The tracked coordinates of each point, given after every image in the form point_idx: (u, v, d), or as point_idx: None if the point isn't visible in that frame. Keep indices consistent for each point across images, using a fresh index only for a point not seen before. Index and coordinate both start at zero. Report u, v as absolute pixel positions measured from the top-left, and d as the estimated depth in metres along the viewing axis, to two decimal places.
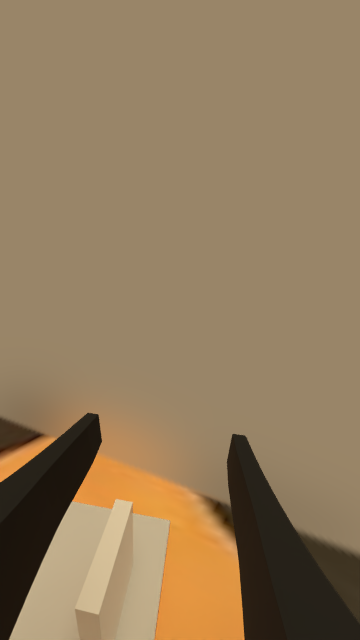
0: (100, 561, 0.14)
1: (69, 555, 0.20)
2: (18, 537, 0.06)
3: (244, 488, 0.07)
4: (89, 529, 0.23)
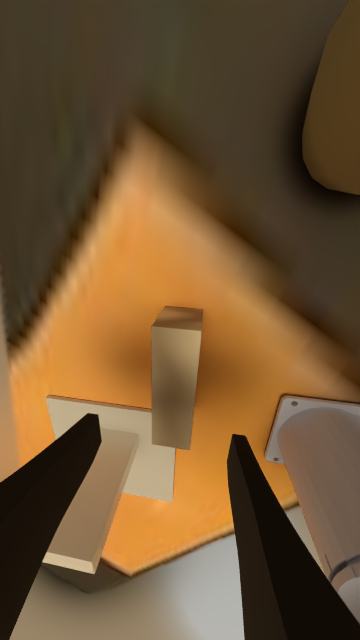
0: (63, 562, 0.13)
1: None
2: (18, 537, 0.06)
3: (244, 488, 0.07)
4: None
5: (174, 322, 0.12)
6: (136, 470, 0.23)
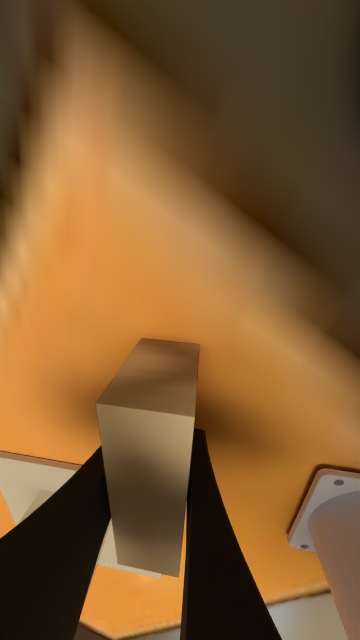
0: None
1: None
2: (78, 550, 0.06)
3: (190, 479, 0.08)
4: None
5: (144, 388, 0.07)
6: (113, 543, 0.17)
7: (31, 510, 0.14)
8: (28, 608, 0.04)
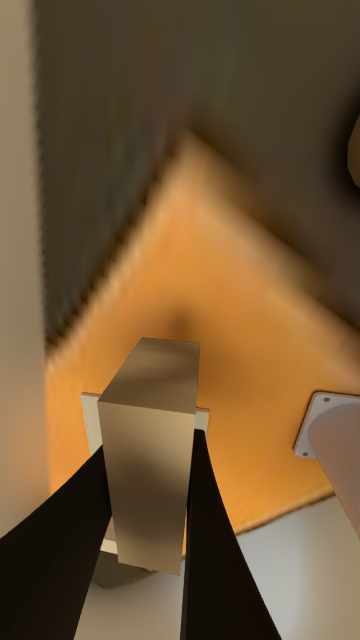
0: (115, 549, 0.13)
1: None
2: (78, 550, 0.06)
3: (190, 479, 0.08)
4: None
5: (144, 387, 0.07)
6: None
7: None
8: (28, 608, 0.04)
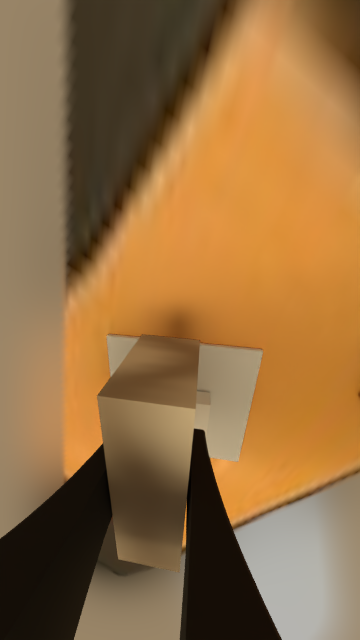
0: None
1: None
2: (78, 550, 0.06)
3: (190, 479, 0.08)
4: None
5: (145, 382, 0.07)
6: None
7: None
8: (28, 608, 0.04)
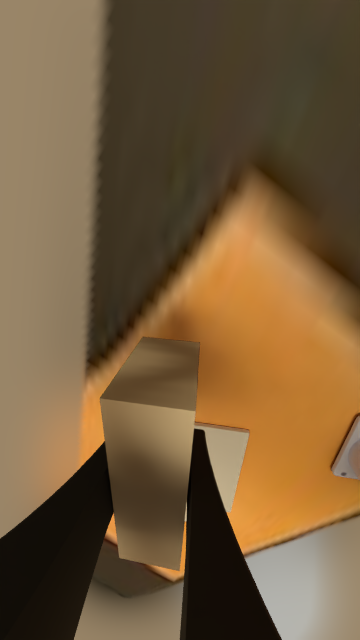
0: None
1: None
2: (78, 550, 0.06)
3: (190, 479, 0.08)
4: None
5: (146, 385, 0.07)
6: None
7: None
8: (28, 608, 0.04)
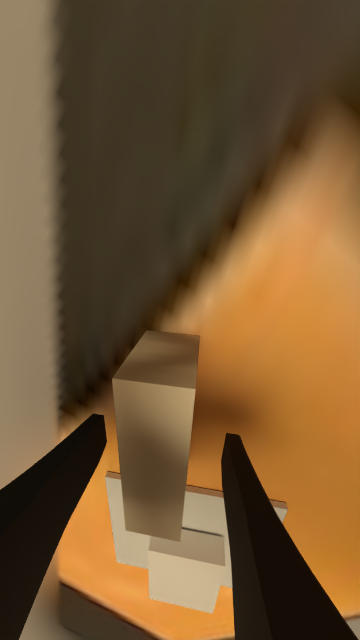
0: None
1: None
2: (27, 539, 0.06)
3: (236, 487, 0.07)
4: (135, 542, 0.19)
5: (152, 368, 0.08)
6: None
7: (152, 558, 0.16)
8: None
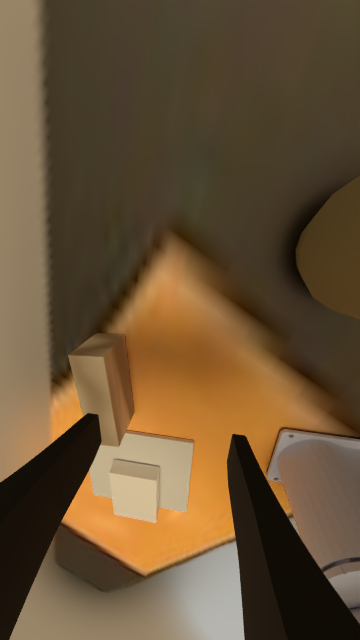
0: None
1: None
2: (18, 537, 0.06)
3: (244, 488, 0.07)
4: (105, 476, 0.27)
5: (88, 350, 0.16)
6: None
7: (112, 479, 0.24)
8: None
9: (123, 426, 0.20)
